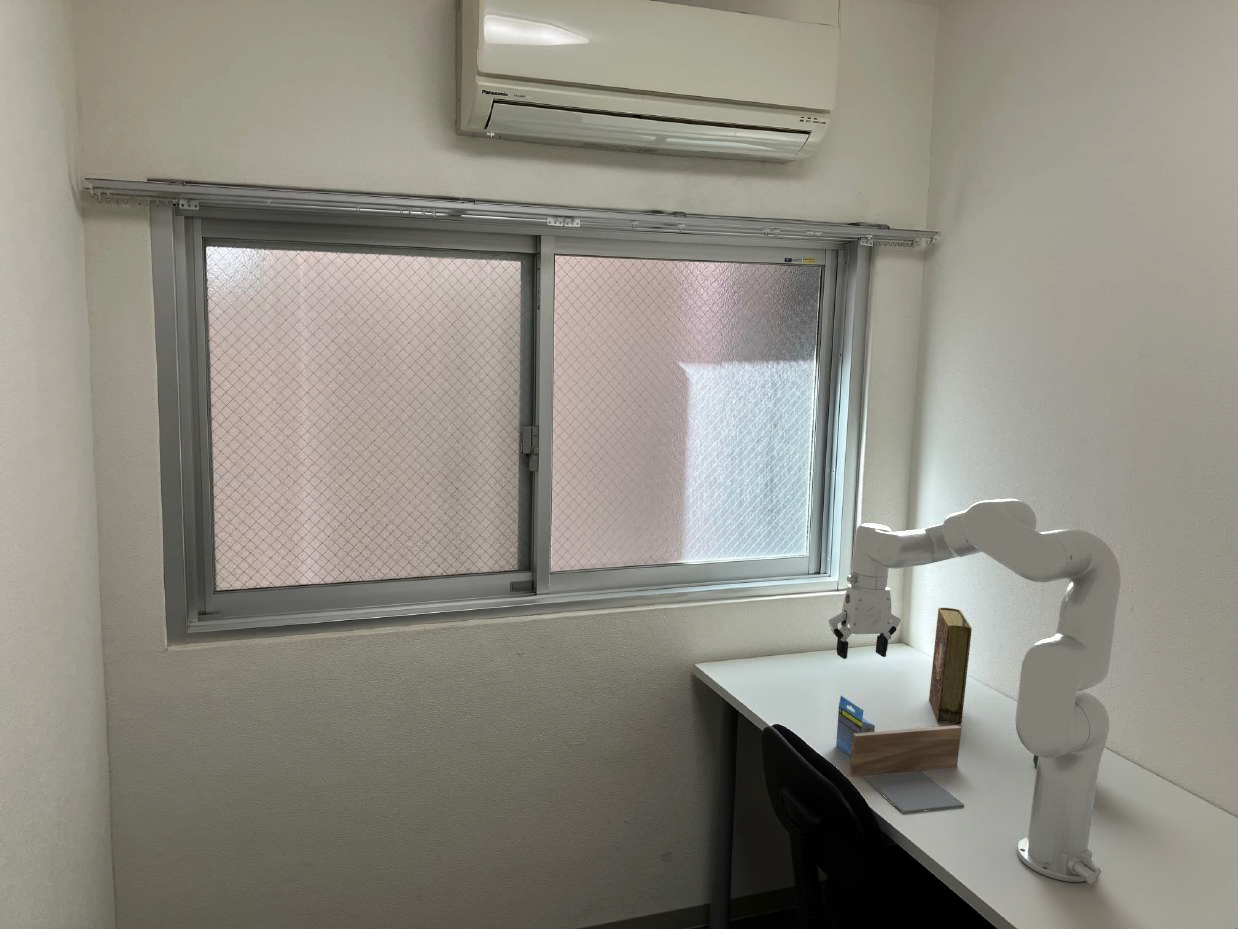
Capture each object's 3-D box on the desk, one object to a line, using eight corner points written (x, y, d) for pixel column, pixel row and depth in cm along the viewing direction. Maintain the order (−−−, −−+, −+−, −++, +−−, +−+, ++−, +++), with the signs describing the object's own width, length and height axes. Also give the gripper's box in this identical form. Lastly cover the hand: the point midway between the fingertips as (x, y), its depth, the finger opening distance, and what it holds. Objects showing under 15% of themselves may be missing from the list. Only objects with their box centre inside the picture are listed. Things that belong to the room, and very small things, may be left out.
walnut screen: (957, 766, 192) (961, 727, 191) (852, 776, 185) (856, 736, 184) (953, 764, 193) (957, 725, 192) (849, 773, 186) (853, 733, 185)
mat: (963, 806, 174) (964, 804, 174) (902, 813, 171) (902, 811, 171) (921, 773, 188) (921, 771, 188) (864, 779, 184) (864, 776, 184)
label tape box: (873, 761, 192) (878, 708, 191) (858, 764, 191) (863, 710, 189) (849, 744, 200) (853, 693, 199) (834, 746, 199) (838, 694, 197)
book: (928, 698, 230) (937, 606, 227) (949, 701, 229) (959, 609, 226) (937, 724, 214) (948, 625, 211) (961, 727, 213) (972, 628, 210)
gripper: (842, 586, 184) (834, 664, 187) (913, 585, 189) (905, 660, 192) (825, 576, 192) (817, 651, 194) (894, 575, 196) (886, 648, 199)
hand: (861, 655), depth 193 cm, fingers open, 9 cm apart
